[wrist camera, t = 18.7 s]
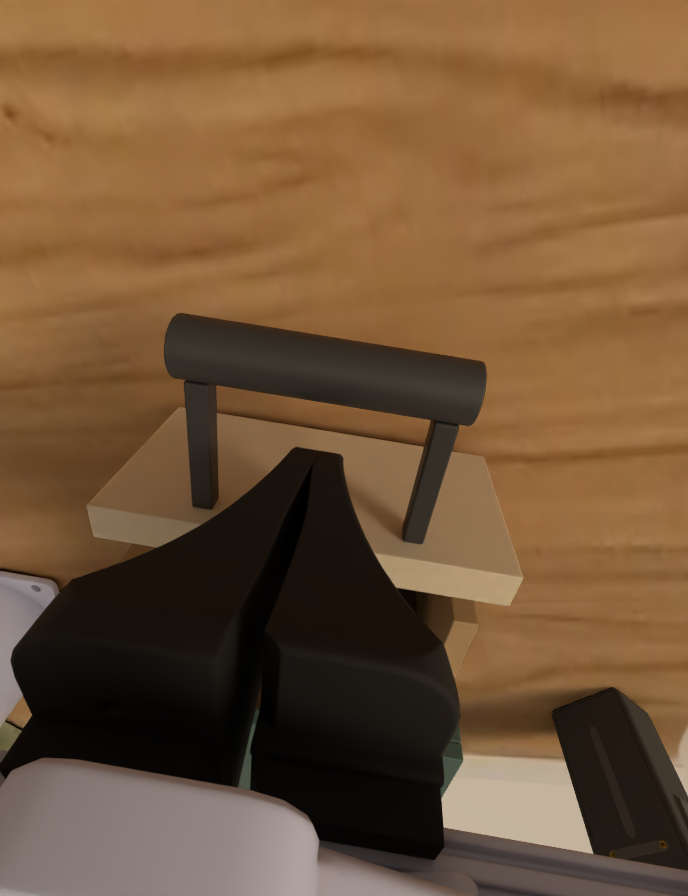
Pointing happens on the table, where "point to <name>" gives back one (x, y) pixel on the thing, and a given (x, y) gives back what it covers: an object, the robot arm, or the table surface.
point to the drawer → (365, 459)
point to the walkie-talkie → (624, 781)
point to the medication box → (8, 736)
